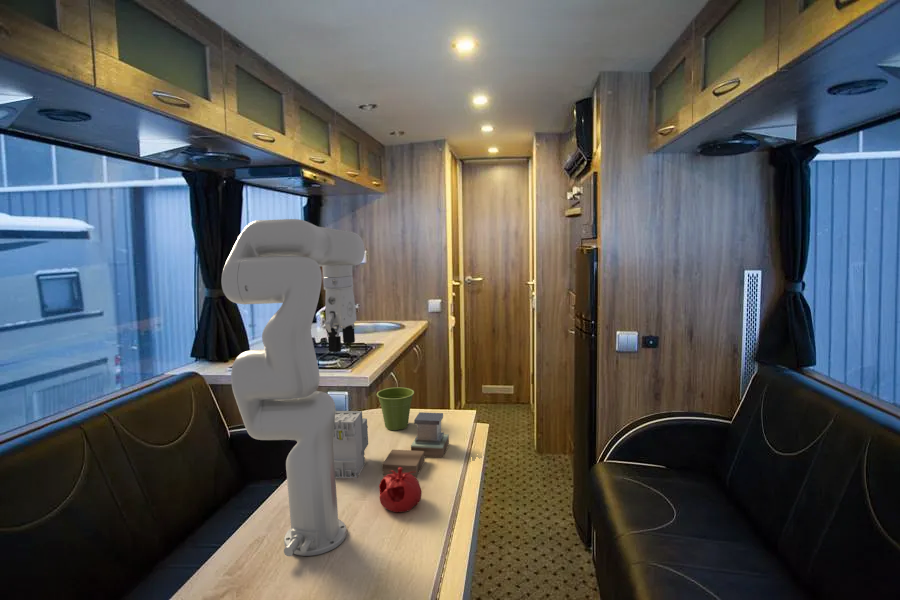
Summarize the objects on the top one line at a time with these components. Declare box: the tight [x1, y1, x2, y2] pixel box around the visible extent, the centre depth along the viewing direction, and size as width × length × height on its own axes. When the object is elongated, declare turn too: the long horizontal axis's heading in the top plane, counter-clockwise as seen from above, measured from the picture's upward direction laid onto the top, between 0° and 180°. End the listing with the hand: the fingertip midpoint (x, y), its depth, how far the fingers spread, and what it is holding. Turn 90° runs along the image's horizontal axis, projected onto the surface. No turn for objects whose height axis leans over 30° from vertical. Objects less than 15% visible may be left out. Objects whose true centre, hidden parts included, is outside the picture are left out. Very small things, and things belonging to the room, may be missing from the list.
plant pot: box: [376, 386, 415, 431], centre depth 169 cm, size 12×12×11 cm
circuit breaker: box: [333, 410, 369, 479], centre depth 143 cm, size 8×14×15 cm, turn 174°
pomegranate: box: [378, 467, 422, 513], centre depth 122 cm, size 10×10×9 cm
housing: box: [413, 411, 445, 445], centre depth 151 cm, size 6×7×7 cm
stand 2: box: [410, 433, 450, 458], centre depth 152 cm, size 9×9×3 cm
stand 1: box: [381, 449, 426, 478], centre depth 141 cm, size 9×9×3 cm
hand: (342, 346), depth 141 cm, fingers open, 9 cm apart
